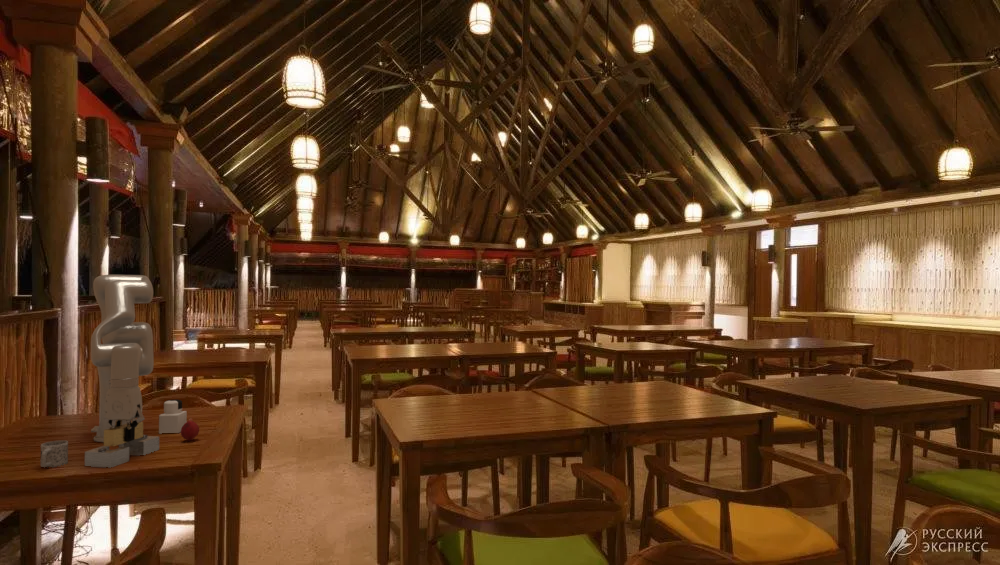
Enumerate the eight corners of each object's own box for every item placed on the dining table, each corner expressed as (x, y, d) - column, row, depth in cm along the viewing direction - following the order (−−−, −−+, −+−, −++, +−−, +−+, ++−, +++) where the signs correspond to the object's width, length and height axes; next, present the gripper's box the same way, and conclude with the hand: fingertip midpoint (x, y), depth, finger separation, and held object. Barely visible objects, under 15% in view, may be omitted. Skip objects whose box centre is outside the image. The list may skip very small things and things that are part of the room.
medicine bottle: (167, 429, 221) (168, 398, 221) (186, 429, 222) (187, 398, 222) (158, 434, 214) (158, 402, 214) (178, 433, 215) (178, 401, 215)
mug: (47, 462, 178) (48, 441, 178) (72, 460, 180) (72, 439, 180) (29, 472, 168) (29, 449, 169) (55, 470, 170) (55, 448, 170)
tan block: (103, 446, 177) (103, 428, 177) (133, 436, 189) (133, 419, 189) (113, 446, 177) (114, 428, 177) (143, 436, 189) (143, 419, 189)
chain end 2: (118, 454, 186) (118, 439, 187) (135, 448, 193) (135, 433, 194) (143, 455, 185) (143, 439, 185) (159, 449, 192) (159, 434, 192)
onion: (190, 443, 200) (191, 420, 200) (176, 442, 201) (177, 420, 202) (202, 439, 206) (202, 417, 206) (188, 438, 207) (189, 416, 207)
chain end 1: (84, 466, 174) (84, 449, 174) (103, 459, 181) (103, 443, 181) (111, 467, 172) (111, 450, 172) (129, 460, 179) (129, 444, 179)
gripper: (92, 384, 181) (91, 442, 180) (139, 385, 179) (138, 444, 178) (111, 381, 188) (110, 437, 188) (156, 382, 186) (155, 438, 185)
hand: (124, 440), depth 183 cm, fingers closed on tan block, 3 cm apart
